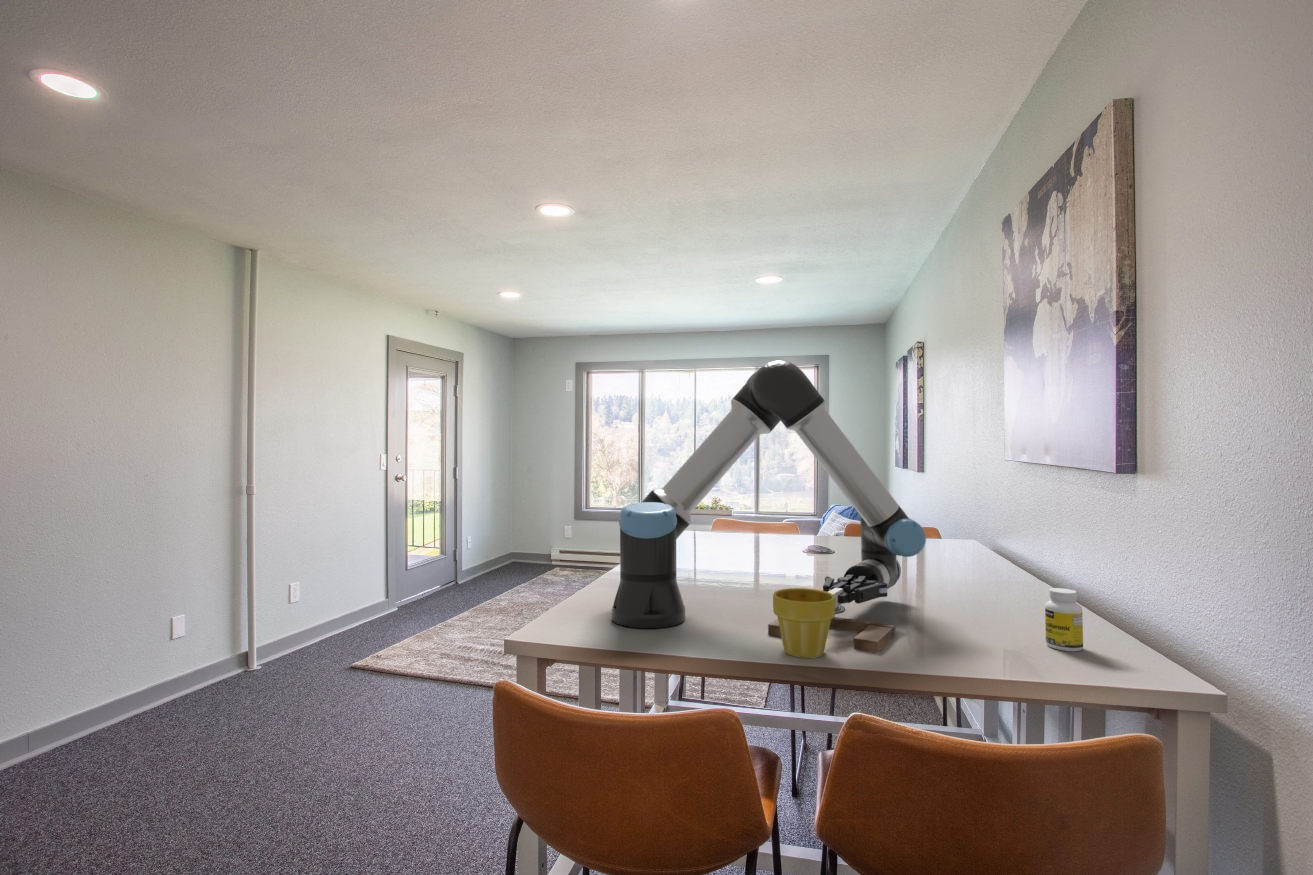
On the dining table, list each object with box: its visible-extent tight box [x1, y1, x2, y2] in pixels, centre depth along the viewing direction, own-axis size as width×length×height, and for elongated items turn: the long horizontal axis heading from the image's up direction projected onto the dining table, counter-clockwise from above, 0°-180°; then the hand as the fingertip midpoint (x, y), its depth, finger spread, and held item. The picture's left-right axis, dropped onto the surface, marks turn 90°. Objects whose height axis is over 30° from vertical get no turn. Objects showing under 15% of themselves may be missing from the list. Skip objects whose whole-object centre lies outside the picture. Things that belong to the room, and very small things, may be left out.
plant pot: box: [772, 587, 836, 659], centre depth 105 cm, size 10×10×10 cm
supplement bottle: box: [1044, 587, 1084, 653], centre depth 106 cm, size 5×5×10 cm
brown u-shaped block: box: [767, 616, 896, 653], centre depth 115 cm, size 20×12×2 cm, turn 56°
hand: (827, 601), depth 112 cm, fingers closed
